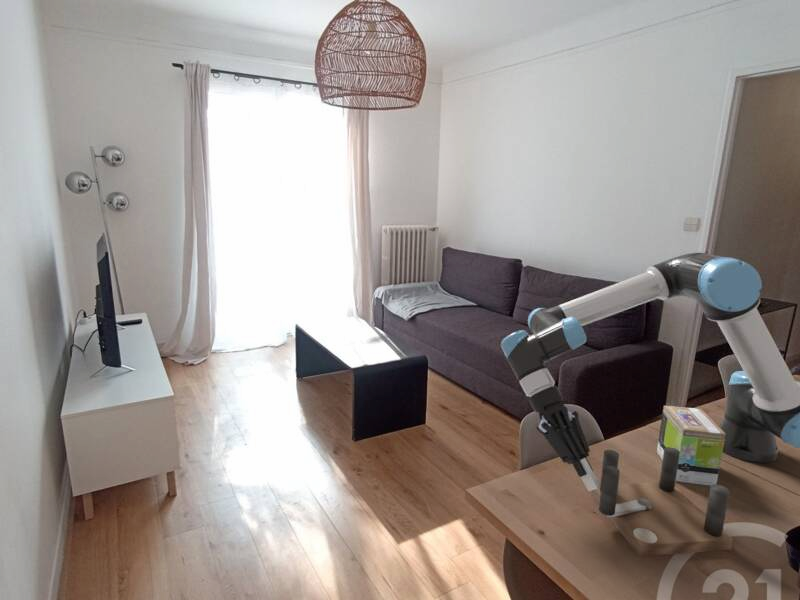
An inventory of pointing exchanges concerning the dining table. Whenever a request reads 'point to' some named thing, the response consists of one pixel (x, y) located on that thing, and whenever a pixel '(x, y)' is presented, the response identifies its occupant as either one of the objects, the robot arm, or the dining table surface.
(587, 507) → the dining table surface
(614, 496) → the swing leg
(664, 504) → the stool seat
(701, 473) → the tea box
